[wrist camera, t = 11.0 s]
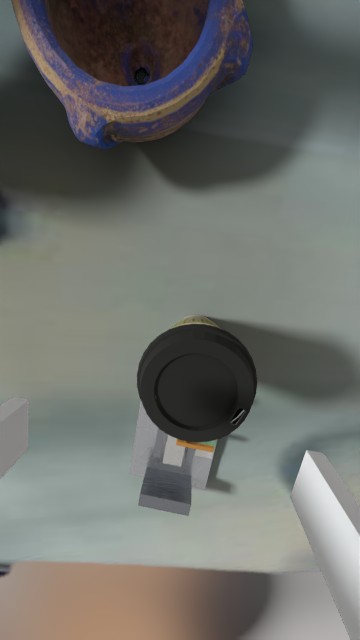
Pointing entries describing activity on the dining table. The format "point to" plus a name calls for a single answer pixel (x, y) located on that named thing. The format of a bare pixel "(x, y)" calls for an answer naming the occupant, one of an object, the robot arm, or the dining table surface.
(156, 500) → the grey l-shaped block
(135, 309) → the dining table surface
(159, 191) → the dining table surface
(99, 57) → the bowl
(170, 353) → the coffee cup
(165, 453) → the plunger
